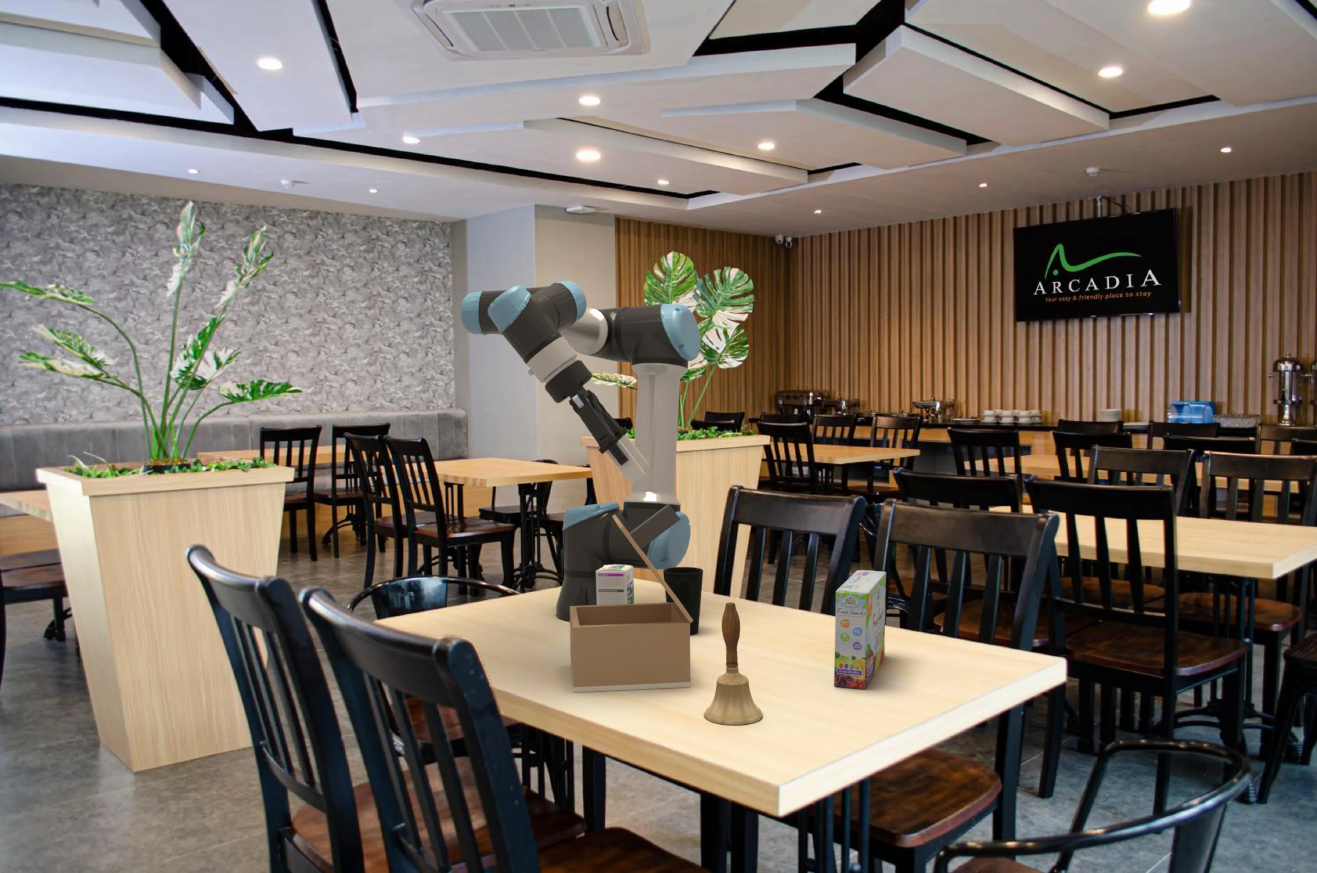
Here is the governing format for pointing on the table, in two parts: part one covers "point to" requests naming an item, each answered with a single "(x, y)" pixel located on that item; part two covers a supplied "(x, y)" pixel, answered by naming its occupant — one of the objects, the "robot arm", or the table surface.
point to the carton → (629, 647)
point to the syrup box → (615, 585)
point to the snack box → (859, 628)
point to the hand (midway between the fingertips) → (640, 474)
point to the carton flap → (648, 534)
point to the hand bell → (732, 681)
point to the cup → (686, 591)
